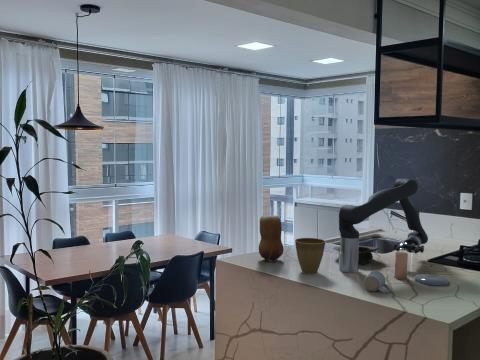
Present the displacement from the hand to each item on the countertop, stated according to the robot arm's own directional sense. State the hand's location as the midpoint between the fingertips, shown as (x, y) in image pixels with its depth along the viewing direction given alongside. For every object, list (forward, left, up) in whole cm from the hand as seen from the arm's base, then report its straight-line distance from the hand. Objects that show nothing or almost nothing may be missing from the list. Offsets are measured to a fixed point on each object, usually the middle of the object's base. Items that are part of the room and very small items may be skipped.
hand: (406, 250), depth 235 cm
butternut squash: (-68, +12, -11) cm, 70 cm away
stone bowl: (-22, +20, -11) cm, 32 cm away
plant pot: (-48, -7, -11) cm, 50 cm away
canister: (-5, -10, -11) cm, 16 cm away
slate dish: (+9, -14, -11) cm, 20 cm away
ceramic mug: (-20, -31, -11) cm, 39 cm away
